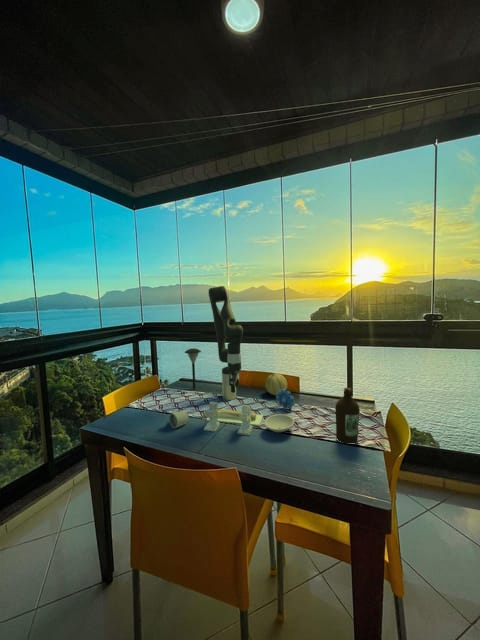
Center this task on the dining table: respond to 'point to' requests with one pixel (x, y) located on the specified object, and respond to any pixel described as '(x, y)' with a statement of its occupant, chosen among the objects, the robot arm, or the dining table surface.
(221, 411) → the birch batten
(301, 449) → the dining table surface
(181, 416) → the ceramic mug
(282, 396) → the grapes
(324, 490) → the dining table surface
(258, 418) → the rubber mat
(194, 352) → the solar garden light
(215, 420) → the hook rack
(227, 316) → the robot arm
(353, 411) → the olive oil
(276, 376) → the cantaloupe
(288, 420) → the dish
